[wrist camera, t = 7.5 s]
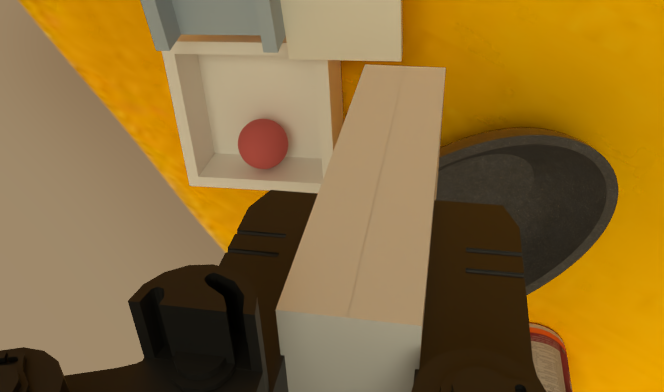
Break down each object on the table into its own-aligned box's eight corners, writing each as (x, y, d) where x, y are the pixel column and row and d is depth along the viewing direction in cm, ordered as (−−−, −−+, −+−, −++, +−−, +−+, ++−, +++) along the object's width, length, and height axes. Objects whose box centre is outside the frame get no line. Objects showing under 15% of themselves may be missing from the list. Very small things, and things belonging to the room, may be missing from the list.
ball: (239, 107, 44) (226, 144, 41) (288, 108, 43) (277, 147, 41) (250, 141, 46) (239, 178, 44) (296, 143, 46) (286, 180, 44)
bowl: (639, 179, 42) (662, 233, 37) (388, 308, 53) (379, 364, 48) (539, 42, 39) (548, 82, 34) (291, 211, 49) (270, 260, 44)
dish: (184, 21, 42) (159, 41, 39) (338, 22, 40) (326, 43, 37) (209, 158, 48) (189, 185, 45) (345, 164, 46) (335, 194, 43)
